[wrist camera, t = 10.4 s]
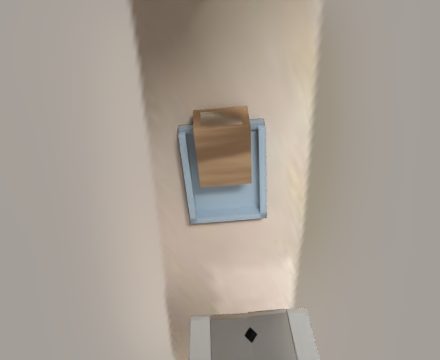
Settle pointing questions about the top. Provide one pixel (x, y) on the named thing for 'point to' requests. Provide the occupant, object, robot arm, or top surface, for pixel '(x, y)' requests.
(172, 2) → the top surface
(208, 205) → the tray
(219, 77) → the top surface
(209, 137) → the wooden block
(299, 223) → the top surface
